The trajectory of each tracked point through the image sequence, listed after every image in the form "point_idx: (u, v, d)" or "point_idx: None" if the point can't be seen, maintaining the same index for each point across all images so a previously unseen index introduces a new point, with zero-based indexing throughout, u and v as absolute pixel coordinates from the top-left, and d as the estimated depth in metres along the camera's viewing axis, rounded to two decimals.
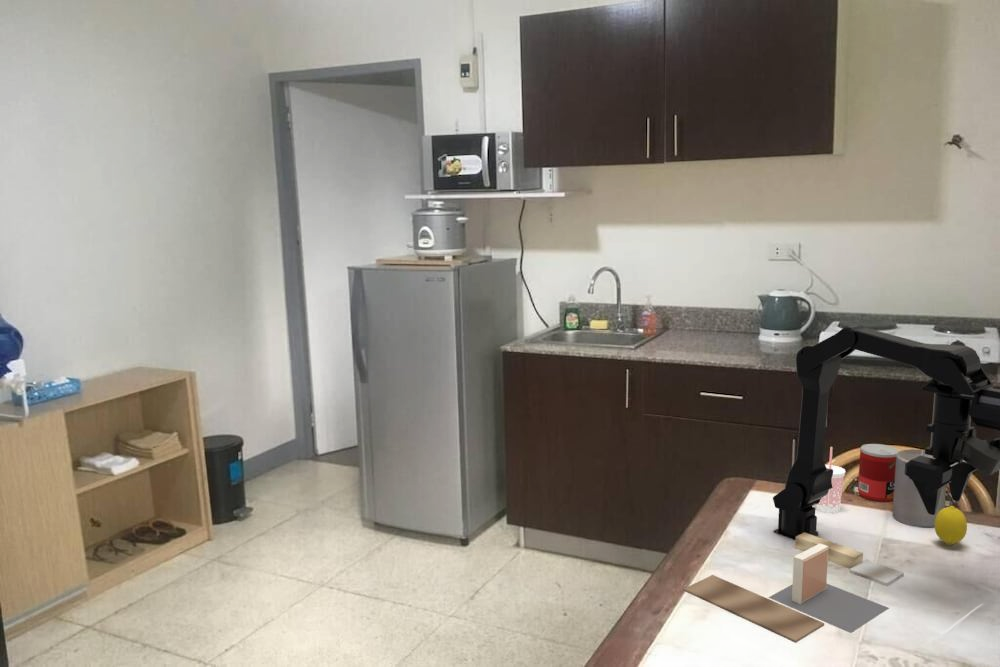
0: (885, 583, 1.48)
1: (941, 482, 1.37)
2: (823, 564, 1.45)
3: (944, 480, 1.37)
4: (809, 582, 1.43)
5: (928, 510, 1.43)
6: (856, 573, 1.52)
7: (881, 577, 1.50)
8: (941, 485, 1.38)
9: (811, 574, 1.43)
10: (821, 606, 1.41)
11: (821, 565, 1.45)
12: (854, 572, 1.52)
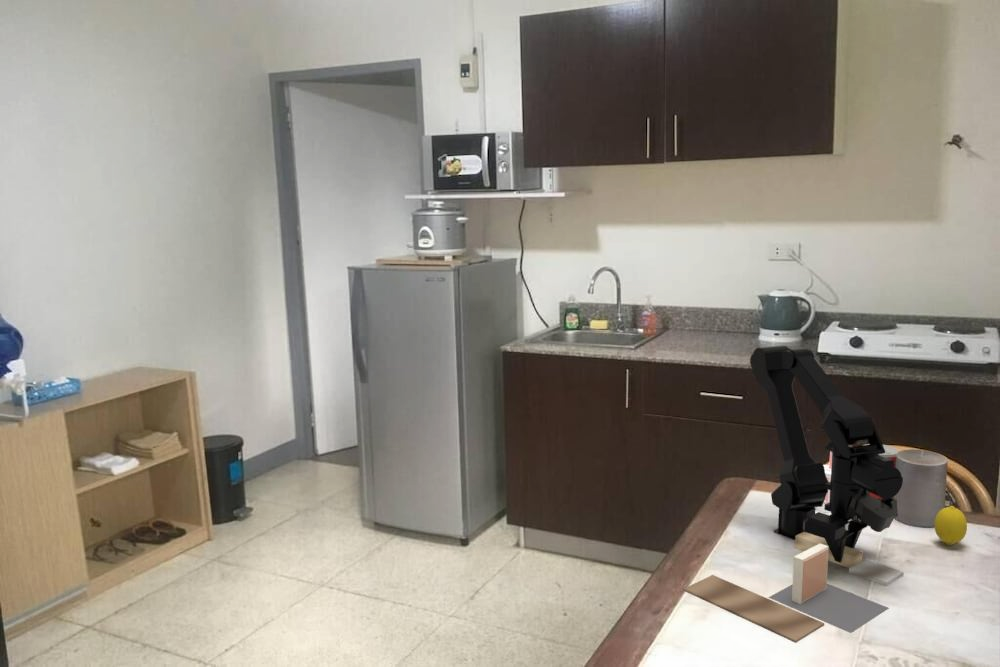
0: (885, 582, 1.48)
1: (834, 539, 1.48)
2: (823, 564, 1.45)
3: (837, 537, 1.49)
4: (809, 582, 1.43)
5: (835, 558, 1.56)
6: (856, 572, 1.52)
7: (881, 576, 1.50)
8: (843, 536, 1.51)
9: (811, 574, 1.43)
10: (821, 606, 1.41)
11: (821, 565, 1.45)
12: (854, 571, 1.52)
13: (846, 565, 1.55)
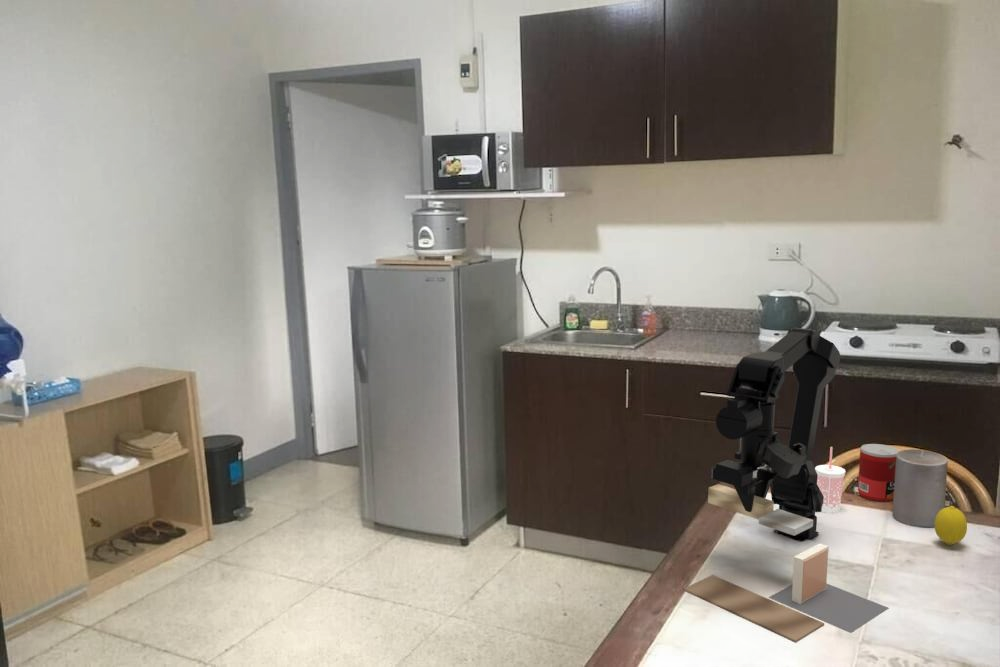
0: (793, 529, 1.45)
1: (740, 485, 1.45)
2: (823, 564, 1.45)
3: (744, 483, 1.45)
4: (809, 582, 1.43)
5: (745, 507, 1.53)
6: (765, 521, 1.49)
7: (789, 523, 1.47)
8: (751, 483, 1.48)
9: (811, 574, 1.43)
10: (821, 606, 1.41)
11: (821, 565, 1.45)
12: (763, 520, 1.49)
13: (757, 515, 1.52)
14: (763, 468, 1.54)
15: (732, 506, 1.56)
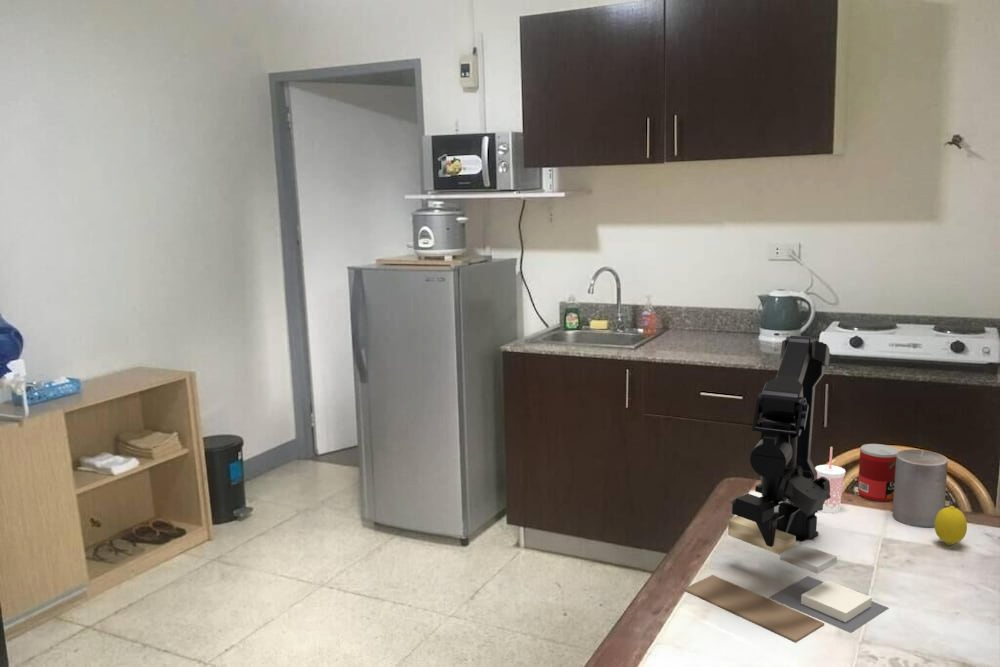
0: (815, 567, 1.40)
1: (761, 521, 1.40)
2: None
3: (764, 519, 1.41)
4: None
5: (766, 542, 1.48)
6: (787, 557, 1.44)
7: (812, 561, 1.42)
8: (773, 519, 1.43)
9: None
10: None
11: None
12: (785, 556, 1.44)
13: (778, 550, 1.47)
14: (785, 501, 1.50)
15: (753, 540, 1.51)
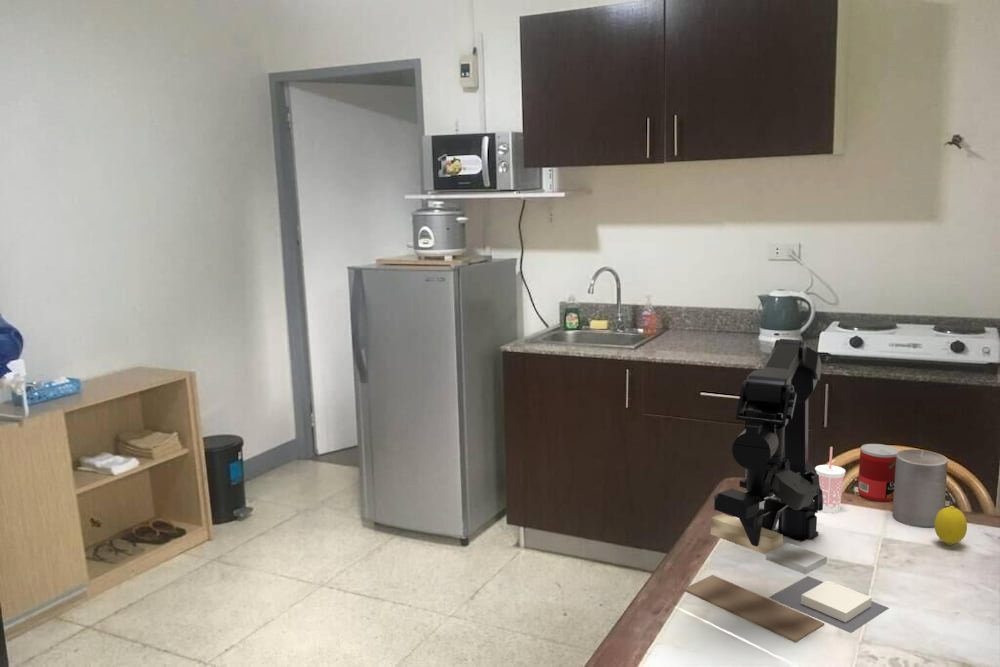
0: (804, 567, 1.30)
1: (745, 517, 1.30)
2: None
3: (749, 515, 1.31)
4: None
5: (751, 541, 1.38)
6: (773, 557, 1.34)
7: (800, 560, 1.32)
8: (758, 516, 1.33)
9: None
10: None
11: None
12: (771, 556, 1.34)
13: (764, 549, 1.37)
14: (771, 498, 1.39)
15: (737, 539, 1.41)
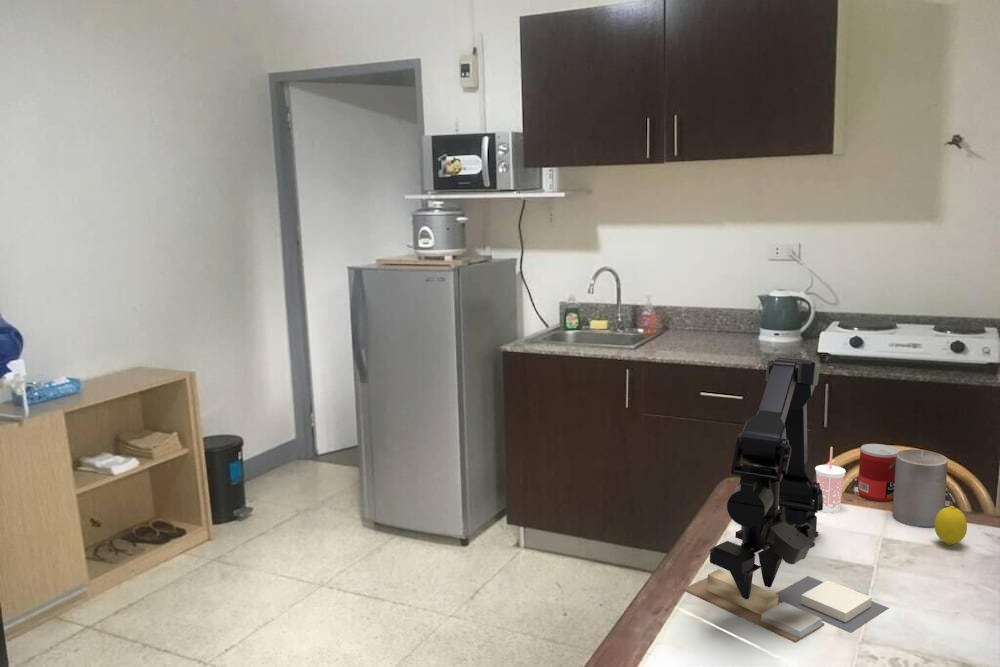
0: (798, 631, 1.31)
1: (741, 572, 1.31)
2: None
3: (744, 570, 1.32)
4: None
5: (742, 594, 1.38)
6: (768, 618, 1.35)
7: (795, 623, 1.33)
8: (748, 572, 1.33)
9: None
10: None
11: None
12: (766, 617, 1.36)
13: (759, 609, 1.38)
14: None
15: (733, 597, 1.42)
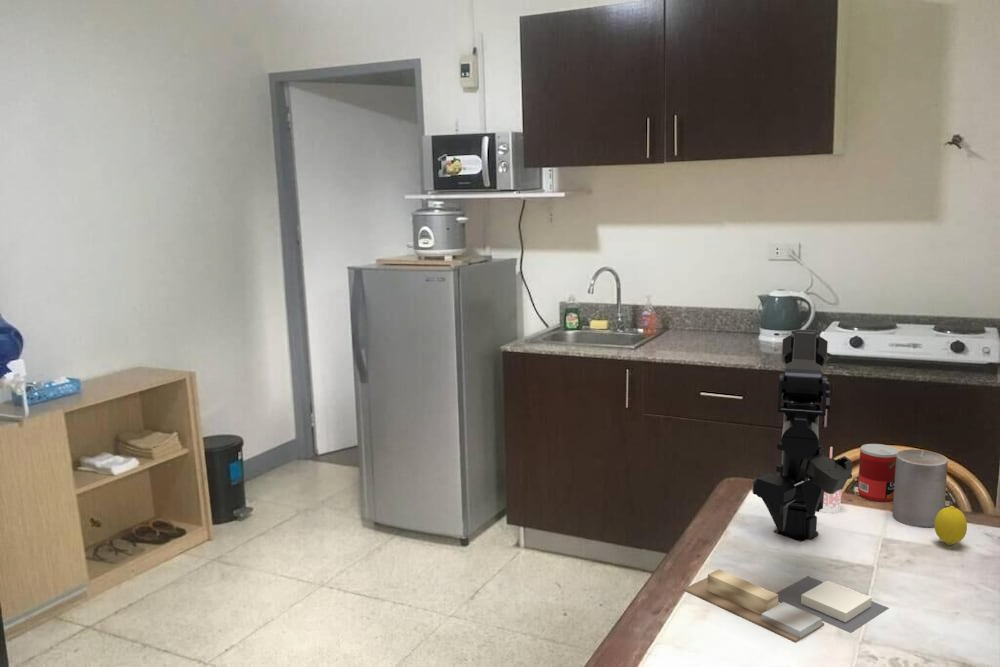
0: (798, 631, 1.31)
1: (782, 501, 1.40)
2: None
3: (786, 499, 1.41)
4: None
5: (777, 526, 1.47)
6: (768, 618, 1.35)
7: (795, 623, 1.33)
8: (784, 504, 1.41)
9: None
10: None
11: None
12: (766, 617, 1.36)
13: (759, 609, 1.38)
14: None
15: (733, 597, 1.42)
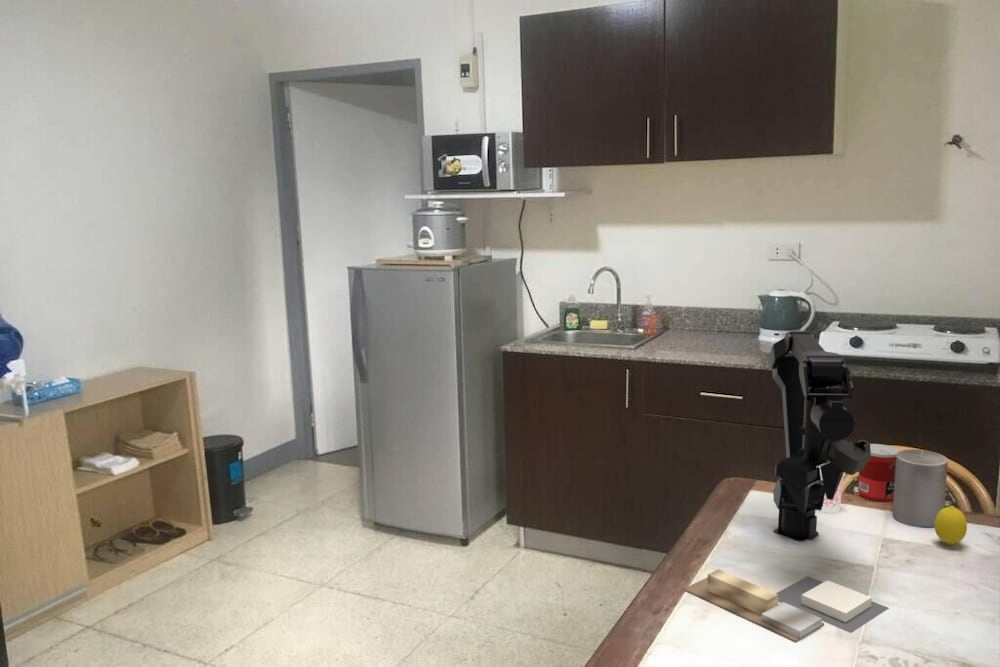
0: (798, 631, 1.31)
1: (805, 481, 1.45)
2: None
3: (809, 480, 1.46)
4: None
5: (799, 508, 1.52)
6: (768, 618, 1.35)
7: (795, 623, 1.33)
8: (806, 484, 1.46)
9: None
10: None
11: None
12: (766, 617, 1.36)
13: (759, 609, 1.38)
14: None
15: (733, 597, 1.42)
